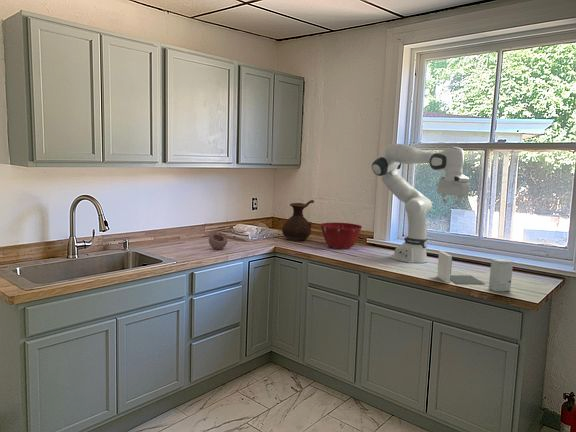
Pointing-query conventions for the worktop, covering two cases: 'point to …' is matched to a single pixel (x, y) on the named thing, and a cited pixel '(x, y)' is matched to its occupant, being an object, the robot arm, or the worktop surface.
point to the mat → (465, 279)
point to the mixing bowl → (340, 234)
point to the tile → (444, 266)
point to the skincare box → (500, 274)
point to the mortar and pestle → (217, 240)
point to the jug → (297, 223)
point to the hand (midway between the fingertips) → (451, 203)
